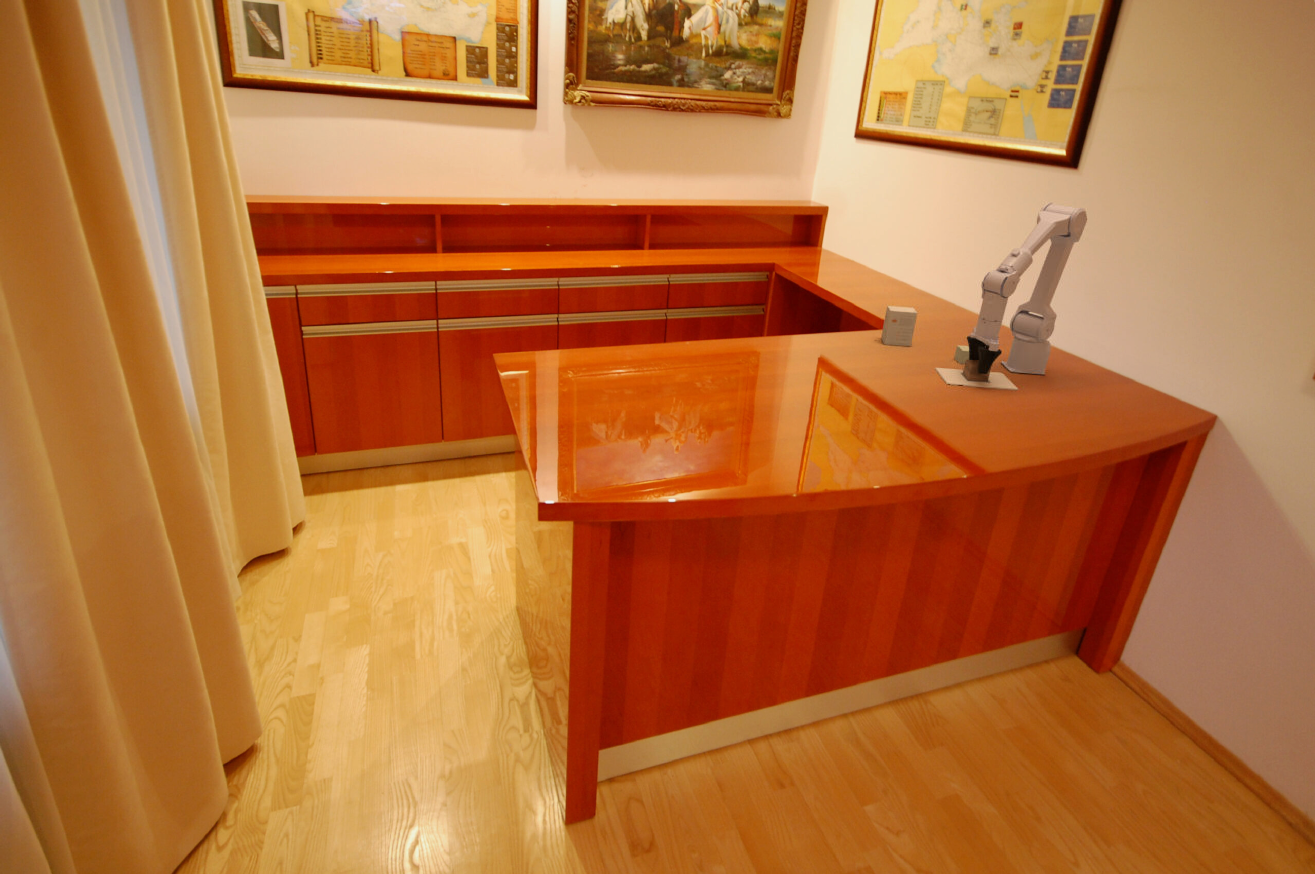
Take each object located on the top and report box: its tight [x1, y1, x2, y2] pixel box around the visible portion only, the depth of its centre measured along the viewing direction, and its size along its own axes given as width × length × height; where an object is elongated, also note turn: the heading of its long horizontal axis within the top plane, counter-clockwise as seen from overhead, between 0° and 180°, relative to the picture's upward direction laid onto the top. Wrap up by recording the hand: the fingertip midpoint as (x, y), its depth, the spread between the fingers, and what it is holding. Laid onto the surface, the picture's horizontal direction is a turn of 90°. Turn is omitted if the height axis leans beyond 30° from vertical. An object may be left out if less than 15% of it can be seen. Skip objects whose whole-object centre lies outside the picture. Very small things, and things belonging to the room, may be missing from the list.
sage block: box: [953, 344, 969, 365], centre depth 211 cm, size 5×5×4 cm
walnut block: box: [962, 359, 992, 382], centre depth 197 cm, size 5×5×4 cm
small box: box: [880, 305, 918, 347], centre depth 222 cm, size 8×6×10 cm
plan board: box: [934, 367, 1019, 391], centre depth 198 cm, size 18×12×1 cm, turn 86°
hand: (977, 368), depth 197 cm, fingers open, 7 cm apart
